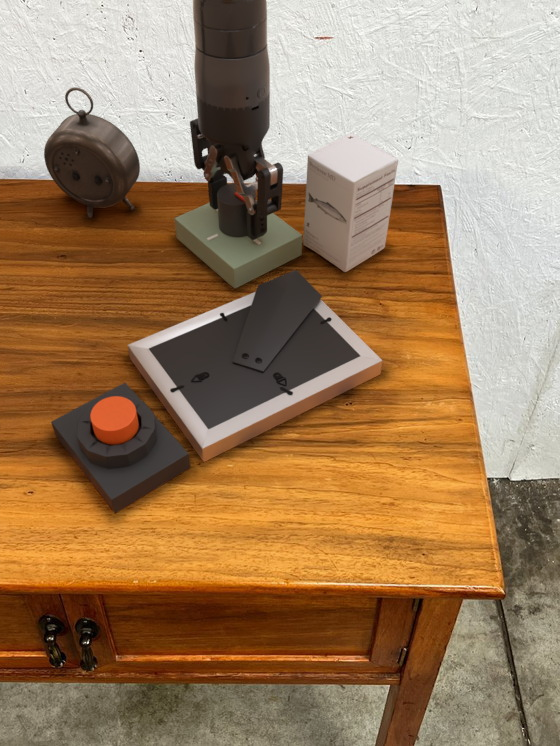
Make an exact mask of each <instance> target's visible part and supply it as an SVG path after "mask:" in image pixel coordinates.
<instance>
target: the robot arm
mask: <svg viewBox="0 0 560 746" xmlns="http://www.w3.org/2000/svg"><path fill="white" fill-rule="evenodd" d="M192 16H193V17H192V19H193V33H194V43H195V44H194V66H193V67H194V82H195V93H196V94H195V96H196V108H197V109H196V111H197V118H195V119H192V120H190V121H189V126H190V128H189V129H190V135H191V137H190V138H191V142H192V143H191V144H192V145H191V146H192V154H193V162H194V166H195V168H196V169H197V170H202V171H203V177H204V179H205V180H206V181H207V189H208V190H207V191H208V201H209V202H208V203H210V206H211V207H212V208H213V209H215V210H216V209H218V200H217V193H218V191H219V189H220V188H221V187H223V186H225V185H227V184H228V177H227V176H226V174H227V175H229V177H230V178H231V179H232V181H233V183H234V184H235V187H236V190H237V193H238V194H239V195H242V196H243V198H244V201H245V204H246V207H247V210H248V211H247V236H248V237H249V238H250V239H251V240H255V239H257V238H259V237H261V236H263V235H264V234H266V232H267V215H270V214H272V213H274V214H275V213H277V212H279V211H281V209H282V197H283V183H284V182H283V181H284V167H283V165H282V164H281V162H276V163H273V164H272V163H271V162H269V161H268V160H266V159H265V158H266V155H265V152H264V149H263V141H264V139H265V137H266V135H267V133H268V131H269V130H270V127H271V126H270V125H271V124H270V123H271V121H270V120H271V115H270V113H271V112H270V111H271V109H270V108H271V106H270V105H271V70H270V69H271V68H270V67H271V66H270V56H269V50H268V3H267V0H192ZM204 150H206V151H207V154H205V155H203V151H204ZM254 176H255V181H253V182H251V183H248V184H246V183H245V181H247V180H249V179H251V178H253V177H254ZM245 184H246V185H245ZM253 191H255V192H257V193H256V200H257V201H255V202H254V200H253V197H252V192H253Z"/></svg>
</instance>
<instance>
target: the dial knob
mask: <svg viewBox="0 0 560 746" xmlns="http://www.w3.org/2000/svg"><path fill="white" fill-rule="evenodd" d="M244 184H245V185H247V183H244ZM256 192H257V191H253V192H252V197H253V200H254V202H255V201H256V200H257V193H256ZM217 200H218V218H219V229H220V230H221V232H222V233H224V234H225V235H228V236H231V237H243V236H247V211H248V210H247V207H246V204H245V201H244V198H243V196H242V195H239V194H238V193H237V190H236V187H235V184H234V182H231V183H227V185H225V186H223V187H221V188H220V189H219V191H218V193H217Z"/></svg>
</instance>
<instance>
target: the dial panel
mask: <svg viewBox="0 0 560 746" xmlns="http://www.w3.org/2000/svg"><path fill="white" fill-rule="evenodd" d="M256 201H257V199H256ZM173 220H174V229H175V230H174V231H175V238H176V239H177V240H178V241H179V242H180V243H182V244H183V245H184V246H185V247H186V248H187V249H188V250H189V251H191V252H192V254H194V255H195V256H197V258H199V260H201V262H203V263H204V264H205V265H207V267H209V268H210V269H211V270H212V271H213V272H215V273H216V274H217V275H218V276H219V277H220V278H221V279H223V281H225V283H227V284H228V285H229V286H231V287H232V288H233V289H234V290H236V289H237V288H239V287H242V286H243V285H246V284H247V283H249V282H252V281H254V280H255V279H258V278H260V277H261V276H263V275H265V274H268V273H269V272H270V271H273V270H276V269H277V268H279V267H281V266H283V265H285V264H288V263H289V262H291V261H293V260H295V259H297V258H299V257H300V256H302V254H303V234H301V232H299V231H298V230H297V229H295V228H294V227H292V226H291V225H290V224H288V223H287V222H286V221H284V220H283V219H282V218H280V217H279V216H278V215H276V214H275V212H274V213H272V214H270V215H267V232H266V234H264V235H263V236H261V237H259V238H257V239H255V240H251V239H250V238H249V237H248V236H243V237H231V236H228V235H225V234H224V233H222V232H221V230H220V229H219V218H218V209H216V210H215V209H213V208H212V207H211V206H210V203H209V202H208V203H205V204H203V205H201V206H198V207H196V208H194V209H192V210H190V211H188V212H185V213H183V214H181V215H178V216H176V217H174V219H173Z"/></svg>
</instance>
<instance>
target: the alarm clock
mask: <svg viewBox="0 0 560 746" xmlns="http://www.w3.org/2000/svg"><path fill="white" fill-rule="evenodd" d="M74 91H76V92H77V91H78V92H81V93H82V94H84V95H85V96H86V97H87V99H88V101H89V103H90V108H89V110H88V111H87V112H86V110H84V109H79V110H78V111H77V110H76V109H74V108H73V107H72V105H71V104H70V102H69V95H70V93H71V92H74ZM64 99H65V103H66V105H67V107H68V108H69V109H70V110H71V112H73V113H74V114H71V115H69V116H67V117H66V118H64V119H63V120H62V122H61V123H60V124H59V125H58V126H57V128H56V129H55V130H54V131H53V132H52V133H51V135H50V136H49V137H48V138H47V141H46V142H45V146H44V149H43V159H44V162H45V167H46V169H47V172H48V174H49V176H50V177H51V179H52V180H53V182H54V183H55V184H56V186H57V187H58V188H59V189H61V191H62V192H63V193H65V194H66V195H67V196H68V197H69V198H71V199H73V200H75V201H76V202H78V203H80V204H82V205H85V206H86V207H87V209H86V210H87V217H88V218H90V219H91V218H93V215H94V214H93V212H94V208H97V209H98V208H99V209H101V208H102V209H105V208H111V207H114V206H117V205H118V204H119V203H121V202H122V203H124V205H125V206H127V207H128V208H129V211H131V212H133V211H134V210H135V206H134V205H133V204H132V202H131V200H130V199H129V198H128V197H127V195H128V193H130V191H131V189H132V188H133V187H134V185H135V184H136V183H137V182H138V179H139V177H140V173H141V166H140V165H141V164H140V157H139V154H138V152H137V149H136V148H135V146H134V144H133V143H132V142H131V139H129V137H128V136H127V135H126V134H125V133H124V131H122V130H121V129H120V128H119V127H117V125H115V124H113V123H112V122H110V121H109V120H107V119H106V118H103V117H100V116H98V115H95V114H92V113H91V112H92V111H93V109H94V100H93V98H92V96H91V95H90V94H89V93H88V91H86V90H84V89H83V88H81V87H78V86H77V87H76V86H75V87H74V86H73V87H70V88H69V89H68V90H66V92H65V94H64Z"/></svg>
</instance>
